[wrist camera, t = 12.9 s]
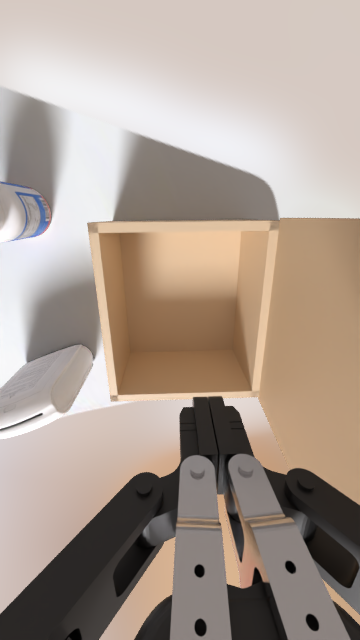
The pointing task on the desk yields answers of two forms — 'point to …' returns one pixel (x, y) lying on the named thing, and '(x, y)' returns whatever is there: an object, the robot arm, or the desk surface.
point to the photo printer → (43, 390)
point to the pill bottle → (22, 212)
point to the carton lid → (316, 349)
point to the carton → (183, 305)
